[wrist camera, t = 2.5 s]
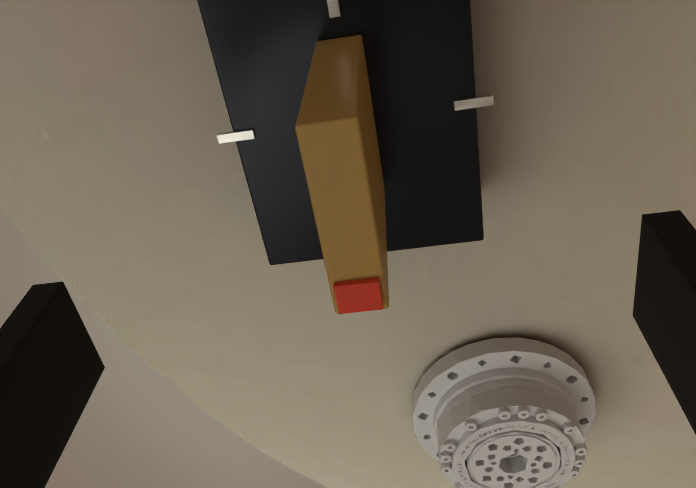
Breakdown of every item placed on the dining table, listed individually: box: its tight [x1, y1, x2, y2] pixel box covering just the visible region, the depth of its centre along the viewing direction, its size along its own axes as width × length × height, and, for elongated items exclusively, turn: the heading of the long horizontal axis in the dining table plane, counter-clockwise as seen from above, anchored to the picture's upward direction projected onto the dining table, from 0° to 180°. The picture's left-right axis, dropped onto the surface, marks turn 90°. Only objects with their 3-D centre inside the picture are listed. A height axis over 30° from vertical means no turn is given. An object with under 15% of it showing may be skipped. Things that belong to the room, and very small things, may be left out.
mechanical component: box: [412, 338, 596, 488], centre depth 35 cm, size 10×4×10 cm
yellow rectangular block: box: [295, 35, 389, 314], centre depth 20 cm, size 6×2×8 cm, turn 9°
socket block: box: [197, 0, 494, 265], centre depth 25 cm, size 12×10×4 cm
